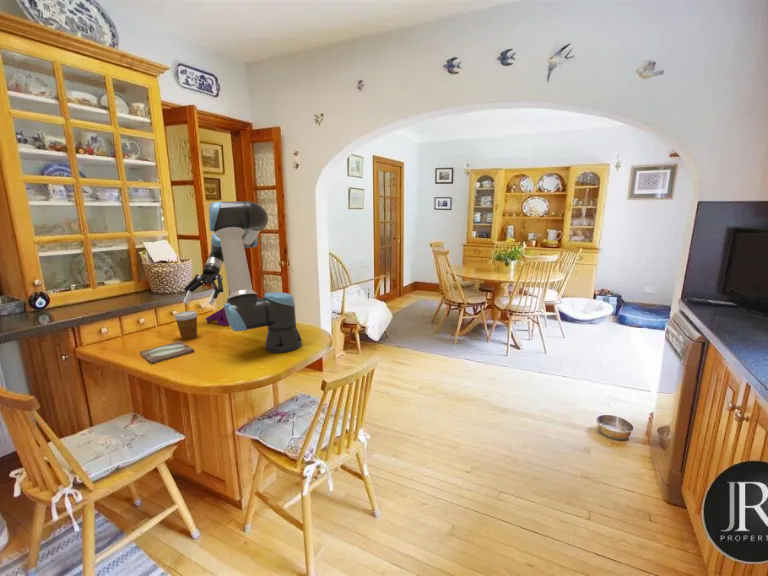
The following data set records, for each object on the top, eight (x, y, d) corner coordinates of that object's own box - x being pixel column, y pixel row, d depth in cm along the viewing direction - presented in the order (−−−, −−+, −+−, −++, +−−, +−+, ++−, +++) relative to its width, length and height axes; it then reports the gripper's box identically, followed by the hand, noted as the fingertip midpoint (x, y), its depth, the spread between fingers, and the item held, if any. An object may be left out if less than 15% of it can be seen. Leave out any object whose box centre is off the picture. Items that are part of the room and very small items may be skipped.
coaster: (194, 352, 154) (194, 349, 154) (151, 364, 143) (150, 361, 143) (181, 343, 165) (181, 340, 165) (140, 354, 154) (139, 351, 154)
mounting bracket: (209, 334, 195) (229, 323, 187) (202, 320, 195) (222, 308, 187) (223, 329, 203) (243, 318, 195) (216, 315, 203) (236, 303, 195)
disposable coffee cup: (199, 333, 179) (195, 309, 176) (202, 338, 171) (198, 313, 168) (177, 337, 174) (173, 313, 171) (179, 343, 166) (174, 317, 163)
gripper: (238, 272, 191) (225, 307, 180) (195, 272, 195) (179, 307, 184) (231, 263, 185) (217, 299, 173) (186, 263, 189) (170, 299, 178)
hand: (197, 303), depth 179 cm, fingers open, 13 cm apart
